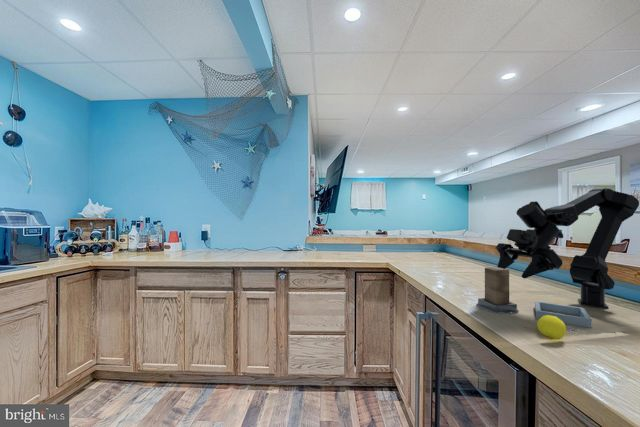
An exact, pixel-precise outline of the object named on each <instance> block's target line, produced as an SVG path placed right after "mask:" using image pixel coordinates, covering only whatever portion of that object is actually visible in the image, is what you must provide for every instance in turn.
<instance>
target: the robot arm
mask: <svg viewBox="0 0 640 427" xmlns="http://www.w3.org/2000/svg"><path fill="white" fill-rule="evenodd" d="M596 206H597V207H598V211H599V213H600V216H601V219H600V220H599V223H598V224H597V226H596V229H595V232H594V234H593V235H592V237H591V238H590V242H589V244H588V245H587V249H586V250H585V253H583V254H582V255H577V254H575V255H574V256H573V259H572V262H571V263H570V264H569V267H570V268H569V274H570V277H571V280H572V283H573V284H577V285H580V298H577V301H578V303H579V304H580V305H582V306H589V307H593V308H595V307H596V308H602V309H609V305H608V304H607V303H606V293H605V292H606V290H612V289H614V287H615V284H616V283H615V281H614V280H613V278H612V277H611V276H610V275H609V274H608V272H609V267H608V264H607V262H606V259H607V257H608V255H609V252H610V250H611V248H612V246H613V243H614V241H615V238H616V236H617V234H618V232H619V230H620V227H621V225H622V223H623V222H624V221H627V219H629V218H631V217H633V216H634V214H635V213H636V211H637V209H639V206H640V201H639V198H637V197H635V196H634V195H632V194H629V193H626V192H625V193H624V192H620V191H616V190H613V189H611V188H607V187H603V188H593V189H590V190H588V191H587V192H586V193H584V194H582V195H581V196H579V197H577V198H575V199H573V200H571V201H569V202H567V203H564V204H561V205H556V206H552V207H549V208H548V207H547V208H546V209H543V208H542V206H541V205H540V203H539V202H538V201H530V202H529V203H528V204H525V205H523V206H521V207H519V208H518V209H517V210H516V215H517V216H518V217H519V219H520V220H521V221H522V222H523V224H525V226H526V227H527V228H528V229H526V230H523V229H518V228H517V229H515V228H510V229H509V231H508V233H507V236H506V239H507V240H510V241H512V242H514V243H513V244H514V246H515V247H517V248H514V246H512V244H510V243H503V242H502V243H501V242H499V243H497V245H496V246H495V249H496V250H497V252H498V253H499V259H498V264H497V266H496V267H498V268H503V269H507V268H508V267H509V266H511V265H513V264H515V261H516V260H517V259H519V257H524V258H527V259H531V261H530V262H529V264H528V265H527V267H525V269H524V271H523V272H522V274H521V278H522V279H527V278H530V277H532V276H535V275H538V274H541V273H544V272H547V271H553V270H554V269H555V270H559V269H560V268H561V267H562V265H563V259H562V258H561V257H560V256H559V255H558V253H556V251H555V250H554V249H551V246H550V245H551V243H552V242H553V240H554V239H563V238H564V234H563V232H562V231H563V229H559V227H570V226H571V225H573V224H574V223H575V222H577V221H579V220H578V219H579V215H581V214H583V213H585V212H587V211H588V210H591V209H593V208H594V207H596Z"/></svg>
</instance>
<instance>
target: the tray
mask: <svg viewBox="0 0 640 427" xmlns="http://www.w3.org/2000/svg"><path fill="white" fill-rule="evenodd" d="M534 309H535V317H536V319H538V320H539V319H540V318H541V317H542V316H545V315H551V316H556V317H557V318H559V319H560V320H562V321H563V322H564V324H568V325H573V326H580V327H586V328H590V329H591V328H592V326H593V325H592V318H591V317H590V315H589V313H588V312H587V310H586V309H585V308H584V307H580V306H573V305H565V304H559V303H551V302H544V301H539V300H534Z"/></svg>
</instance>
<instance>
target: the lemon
mask: <svg viewBox="0 0 640 427" xmlns="http://www.w3.org/2000/svg"><path fill="white" fill-rule="evenodd" d="M536 327H537V330H538V331H539V332H540V333H541V335H544V336H546V337H547V338H548V339H549V340H561V339H563V338H564V337H565V335H566V333H567V327H566V323H564V322H563V321H562V320H560V319H559V318H557V317H556V316H551V315H545V316H542V317H541V318H540V319H538V320H537V323H536Z"/></svg>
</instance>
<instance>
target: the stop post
mask: <svg viewBox="0 0 640 427" xmlns="http://www.w3.org/2000/svg"><path fill="white" fill-rule="evenodd" d="M484 298H485V300H486V301H488V302H491V303H493V304H496V305H499V304H509V302H510V270H509V269H507V268H505V269H503V268H498V267H497V266H495V267H494V266H493V267H484Z"/></svg>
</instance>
